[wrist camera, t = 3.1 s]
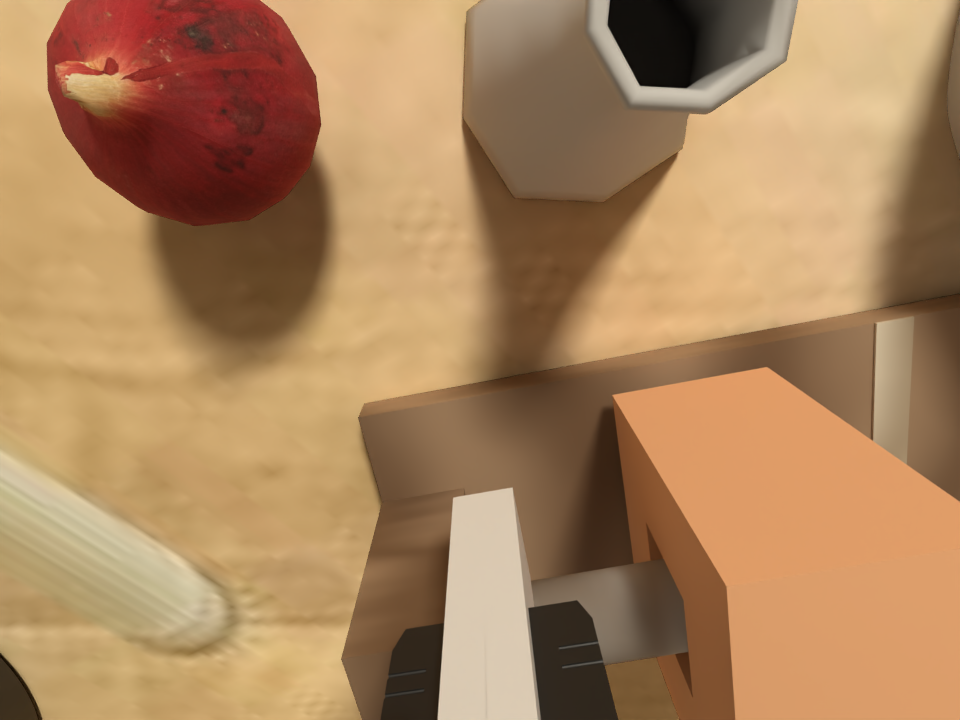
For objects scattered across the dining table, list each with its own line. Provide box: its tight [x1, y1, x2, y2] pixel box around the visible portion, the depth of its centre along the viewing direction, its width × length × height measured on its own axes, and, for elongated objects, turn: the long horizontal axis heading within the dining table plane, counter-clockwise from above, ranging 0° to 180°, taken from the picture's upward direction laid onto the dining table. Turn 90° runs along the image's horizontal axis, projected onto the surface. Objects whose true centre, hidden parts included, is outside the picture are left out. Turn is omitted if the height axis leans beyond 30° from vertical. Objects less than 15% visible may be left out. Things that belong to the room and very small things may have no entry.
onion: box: [47, 0, 321, 226], centre depth 14 cm, size 6×6×8 cm
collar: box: [612, 367, 960, 720], centre depth 16 cm, size 5×9×9 cm, turn 11°
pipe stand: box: [341, 294, 960, 720], centre depth 18 cm, size 26×10×8 cm, turn 101°
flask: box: [463, 0, 798, 202], centre depth 13 cm, size 7×7×10 cm
